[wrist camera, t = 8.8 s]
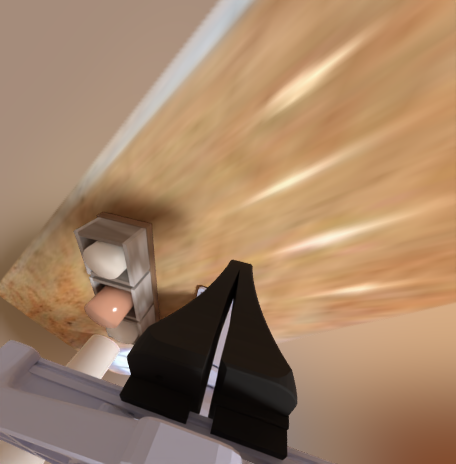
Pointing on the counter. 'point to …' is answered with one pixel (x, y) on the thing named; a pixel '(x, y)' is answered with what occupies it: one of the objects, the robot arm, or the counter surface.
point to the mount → (137, 261)
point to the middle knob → (109, 306)
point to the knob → (124, 332)
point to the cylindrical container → (86, 360)
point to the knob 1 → (105, 259)
